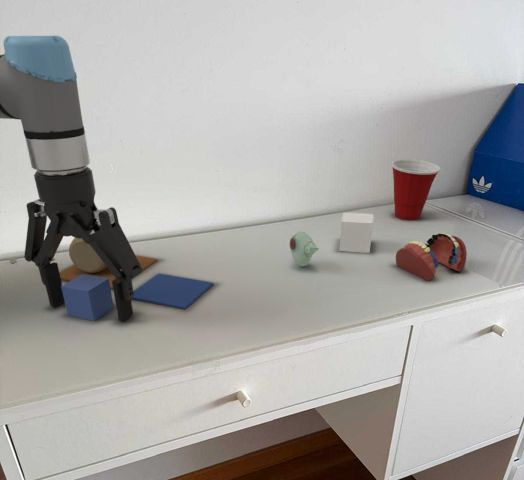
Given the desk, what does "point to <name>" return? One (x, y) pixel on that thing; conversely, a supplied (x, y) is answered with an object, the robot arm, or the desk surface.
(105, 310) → the blue block
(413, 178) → the plastic cup
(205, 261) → the desk surface
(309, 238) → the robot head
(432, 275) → the teeth model
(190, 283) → the blue mat
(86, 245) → the ceramic mug
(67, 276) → the cork mat
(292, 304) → the desk surface
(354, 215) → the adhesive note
